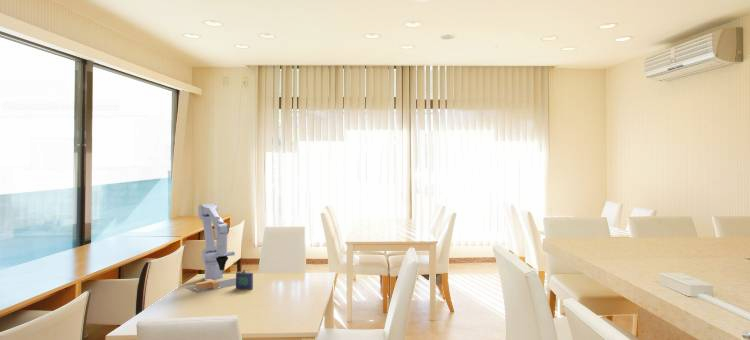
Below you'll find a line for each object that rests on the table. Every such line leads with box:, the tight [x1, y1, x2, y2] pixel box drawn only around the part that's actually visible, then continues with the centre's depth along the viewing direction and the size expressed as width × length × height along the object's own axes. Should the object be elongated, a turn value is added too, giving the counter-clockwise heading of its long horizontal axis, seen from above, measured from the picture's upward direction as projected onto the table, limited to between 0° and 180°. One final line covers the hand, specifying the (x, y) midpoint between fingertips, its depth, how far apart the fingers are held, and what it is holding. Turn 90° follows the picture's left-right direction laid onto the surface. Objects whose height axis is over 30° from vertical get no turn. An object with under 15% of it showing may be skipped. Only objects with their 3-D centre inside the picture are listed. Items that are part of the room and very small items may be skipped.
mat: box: [185, 277, 236, 294], centre depth 252 cm, size 31×14×1 cm, turn 136°
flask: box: [235, 269, 254, 291], centre depth 246 cm, size 9×3×11 cm, turn 87°
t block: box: [194, 279, 219, 290], centre depth 247 cm, size 10×10×3 cm
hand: (221, 269), depth 254 cm, fingers closed
